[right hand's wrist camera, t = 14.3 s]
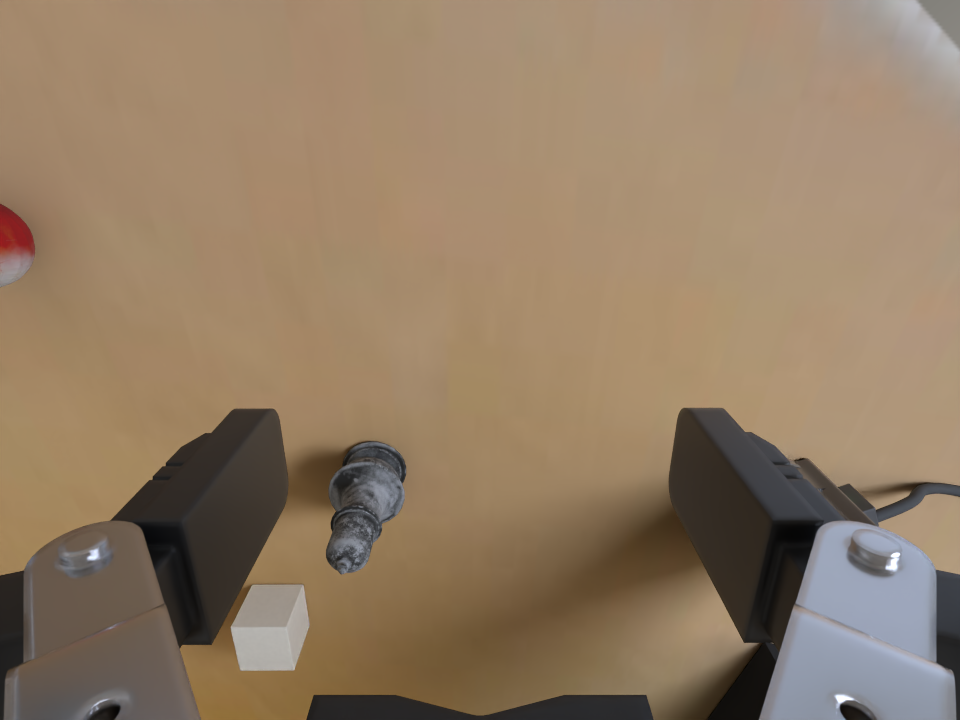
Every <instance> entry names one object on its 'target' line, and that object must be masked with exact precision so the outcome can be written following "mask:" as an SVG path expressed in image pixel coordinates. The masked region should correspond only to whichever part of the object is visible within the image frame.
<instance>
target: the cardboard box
mask: <svg viewBox="0 0 960 720" xmlns="http://www.w3.org/2000/svg"><path fill="white" fill-rule="evenodd" d="M778 656H779V652H778V650H777V648H776V647H775V645H774V644H771V643H763V645H762V646H761V647H760V649H759V650H758V651H757V653H756V654H755V655H754V657H753V658H752V660H751V661H750V662H749V664H748V665H747V666H746V668H745V669H744V670H743V672H742V673H741V675H740V676H739V677H738V679H737V680H736V681H735V683H734V684H733V685H732V687H731V688H730V690H729V691H728V692H727V694H726V695H725V696H724V698H723V699H722V700H721V702H720V703H719V705H718V706H717V707H716V709H715V710H714V711H713V713H712V714H711V715H710V717H709V718H708V720H759V718H760V715H761V711H762V708H763V705H764V702H765V698H766V695H767V692H768V688H769V685H770V682H771V679H772V675H773V672H774V669H775V665H776V662H777V659H778Z"/></svg>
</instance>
